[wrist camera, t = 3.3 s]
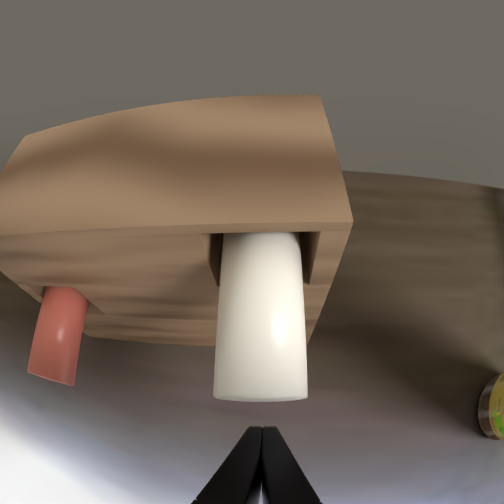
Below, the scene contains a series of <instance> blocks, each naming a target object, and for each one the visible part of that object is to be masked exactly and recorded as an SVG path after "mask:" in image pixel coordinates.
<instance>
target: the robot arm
mask: <svg viewBox="0 0 504 504" xmlns="http://www.w3.org/2000/svg"><path fill="white" fill-rule="evenodd" d="M261 483H262V497H263V504H322V502H320V499H319V498H318V496H317V494H316V493H315V491H314V490H313V488H312V486H311V485H310V483H309V481H308V480H307V478H306V477H305V475H304V473H303V472H302V470H301V468H300V467H299V465H298V463H297V461H296V460H295V458H294V456H293V455H292V453H291V451H290V449H289V448H288V446H287V444H286V443H285V441H284V439H283V437H282V436H281V434H280V432H279V430H278V428H277V427H275V426H265V427H263V429H262V427H260V426H250V427H248V428H247V430H246V431H245V433H244V434H243V436H242V437H241V438H240V440H239V441H238V443H237V444H236V446H235V447H234V448H233V450H232V451H231V452H230V454H229V455H228V457H227V458H226V459H225V461H224V462H223V463H222V465H221V466H220V467H219V469H218V470H217V471H216V473H215V474H214V475H213V477H212V478H211V479H210V481H209V482H208V483H207V484H206V486H205V487H204V488H203V490H202V491H201V492H200V493H199V495H198V496H197V497H196V500H194V501H193V502H192V503H191V504H258V503H259V497H260V492H261Z"/></svg>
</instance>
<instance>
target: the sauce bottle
mask: <svg viewBox="0 0 504 504" xmlns="http://www.w3.org/2000/svg"><path fill="white" fill-rule="evenodd" d="M478 418H479V423H480V427H481V429H482V430H483V431H484V433H485V434H486V435H487V436H488V437H489V438H491V439H493V440H500V439H502V440H504V372H503V373H502V374H499V375H497V376H495V377H494V378H492V379H491V380H490V381H489V382H488V383H487V384H486V386H485V387H484V390H483V392H482V394H481V396H480V399H479V407H478Z"/></svg>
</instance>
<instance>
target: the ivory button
mask: <svg viewBox="0 0 504 504" xmlns="http://www.w3.org/2000/svg"><path fill="white" fill-rule="evenodd" d="M213 397H215V398H218V399H224V400H233V401H249V402H275V401H291V400H299V399H304V398H307V397H308V394H307V358H306V333H305V313H304V295H303V279H302V264H301V251H300V238H299V232H243V233H224V236H223V248H222V261H221V274H220V288H219V302H218V317H217V333H216V351H215V369H214V389H213Z"/></svg>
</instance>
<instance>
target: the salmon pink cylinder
mask: <svg viewBox="0 0 504 504" xmlns="http://www.w3.org/2000/svg"><path fill="white" fill-rule="evenodd" d="M88 305H89V301H88V300H87V299H86V298H85V297H84V296H83V295H82V294H80V293H79V292H78V291H77V290H76V289H75V288H71V287H52V286H46V289H45V293H44V297H43V300H42V304H41V308H40V312H39V316H38V320H37V324H36V328H35V333H34V337H33V342H32V347H31V352H30V358H29V363H28V369H27V372H29V373H31V374H33V375H36V376H39V377H42V378H45V379H48V380H51V381H54V382H58V383H62V384H66V385H70V386H74V383H75V376H76V369H77V362H78V356H79V350H80V344H81V339H82V333H83V328H84V323H85V318H86V314H87V309H88Z"/></svg>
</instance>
